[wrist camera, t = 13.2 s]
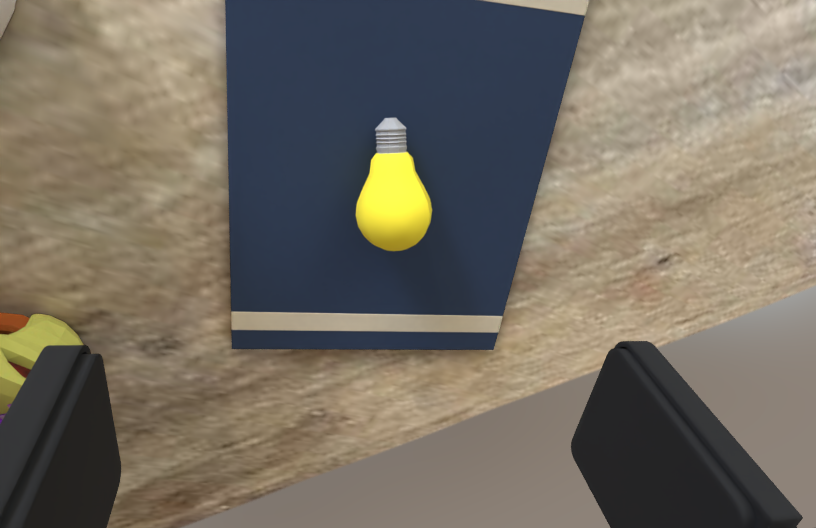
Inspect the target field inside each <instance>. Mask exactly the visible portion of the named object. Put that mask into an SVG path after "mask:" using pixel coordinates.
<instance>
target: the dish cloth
mask: <svg viewBox="0 0 816 528" xmlns="http://www.w3.org/2000/svg"><path fill="white" fill-rule="evenodd" d="M588 3H589V0H225V5H226V60H227V114H228V169H229V223H230V277H231V332H232V349H390V350H493V349H494V346H495V342H496V339H497V335H498V332H499V328H500V325H501V321H502V317H503V313H504V310H505V306H506V302H507V299H508V295H509V291H510V288H511V284H512V280H513V277H514V273H515V269H516V266H517V262H518V258H519V255H520V251H521V247H522V244H523V240H524V237H525V233H526V229H527V226H528V222H529V218H530V215H531V211H532V207H533V204H534V200H535V196H536V193H537V189H538V185H539V182H540V178H541V174H542V171H543V167H544V163H545V160H546V156H547V152H548V149H549V145H550V142H551V138H552V134H553V131H554V127H555V123H556V120H557V116H558V112H559V109H560V105H561V101H562V98H563V94H564V90H565V87H566V83H567V79H568V76H569V72H570V68H571V65H572V61H573V58H574V54H575V50H576V47H577V43H578V39H579V36H580V32H581V28H582V25H583V21H584V17H585V14H586V11H587V7H588ZM384 118H397V120H398V121H400V122H401V123H402V124H403V125H404V126H405V127H406V128H407V129H406V130H405V131H406V137H407V138H406V141H407V142H406V146H407V150H406V152H408V153H409V154H410V155H411V156H412V158H413V161H414V166H415V171H416V173H417V175H418V177H419V178H420V180H421V182H422V184H423V186H424V187H425V189H426V191H427V193H428V195H429V198H430V201H431V207H432V215H431V222H430V224H429V227H428V229H427V231H426V233H425V235H424V237H423V238H422V239H421V240H420V241H419V242H418V243H417V244H416V245H414V246H412V247H410V248H408V249H406V250H402V251H387V250H384V249H382V248H380V247H377V246H375V245H373V244H372V243H371V242H369V241H368V240H367V239H366V238H365V237H364V236H363V234H362V232H361V231H360V229H359V227H358V224H357V219H356V206H357V201H358V199H359V196H360V193H361V191H362V189H363V187H364V184H365V182H366V180H367V178H368V176H369V173H370V165H371V159H372V158H373V157H374V155H375V154H376V153H377V150H376V147H377V143H376V142H377V140H376V138H377V136H375V135H376V131H375V129H376V128H377V127H378V125H379V124H380V123H381V122H382V121H383V120H384Z"/></svg>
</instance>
